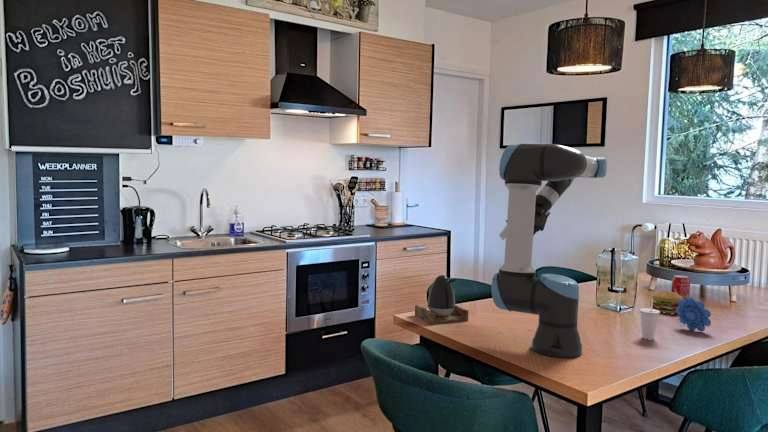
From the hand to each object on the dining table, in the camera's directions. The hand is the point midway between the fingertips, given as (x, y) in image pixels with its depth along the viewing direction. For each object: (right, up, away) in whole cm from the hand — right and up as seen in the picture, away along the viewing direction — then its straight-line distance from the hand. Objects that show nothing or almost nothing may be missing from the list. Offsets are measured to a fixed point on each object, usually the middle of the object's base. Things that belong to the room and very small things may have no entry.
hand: (511, 239), depth 217 cm
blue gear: (+62, -32, -13) cm, 71 cm away
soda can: (+80, -29, +31) cm, 91 cm away
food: (+68, -30, +16) cm, 76 cm away
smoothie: (+41, -33, -23) cm, 58 cm away
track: (-27, -29, -3) cm, 40 cm away
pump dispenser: (-27, -28, -3) cm, 40 cm away
